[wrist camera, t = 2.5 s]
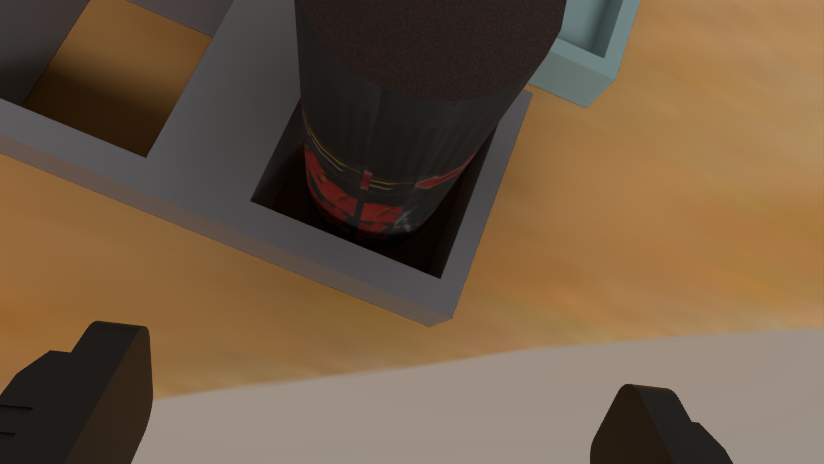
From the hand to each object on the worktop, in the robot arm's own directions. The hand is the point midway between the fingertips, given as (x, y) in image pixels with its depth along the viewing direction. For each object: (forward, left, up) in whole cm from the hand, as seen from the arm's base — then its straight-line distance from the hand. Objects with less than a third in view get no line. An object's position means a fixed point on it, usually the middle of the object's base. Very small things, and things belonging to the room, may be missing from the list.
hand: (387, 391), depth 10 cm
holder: (-1, +11, -15) cm, 19 cm away
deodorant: (+4, +8, -15) cm, 18 cm away
